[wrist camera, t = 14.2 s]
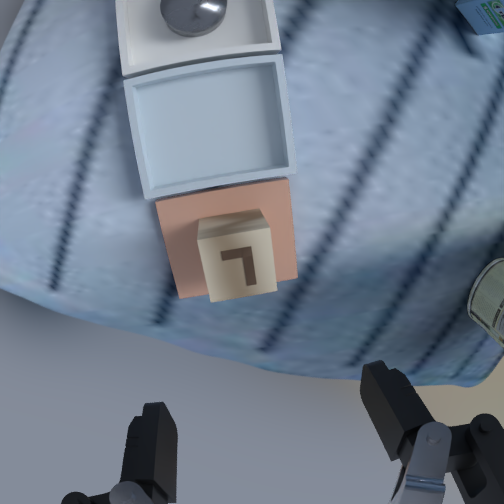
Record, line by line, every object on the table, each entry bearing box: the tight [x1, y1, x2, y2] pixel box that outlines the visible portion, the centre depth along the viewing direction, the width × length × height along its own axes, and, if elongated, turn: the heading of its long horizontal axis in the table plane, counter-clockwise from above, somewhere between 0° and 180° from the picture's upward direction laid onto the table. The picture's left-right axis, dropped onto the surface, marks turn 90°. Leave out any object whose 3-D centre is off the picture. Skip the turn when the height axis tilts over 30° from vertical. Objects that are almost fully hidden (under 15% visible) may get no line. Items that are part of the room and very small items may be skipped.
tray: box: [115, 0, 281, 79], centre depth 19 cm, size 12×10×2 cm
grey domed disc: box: [160, 0, 227, 37], centre depth 18 cm, size 5×5×2 cm
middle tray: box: [123, 54, 297, 200], centre depth 23 cm, size 12×10×2 cm
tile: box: [155, 177, 298, 299], centre depth 27 cm, size 11×9×1 cm
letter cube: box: [197, 208, 277, 302], centre depth 25 cm, size 5×5×5 cm
